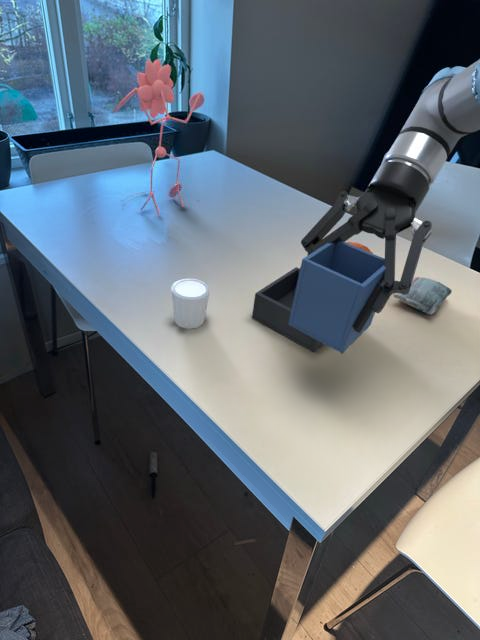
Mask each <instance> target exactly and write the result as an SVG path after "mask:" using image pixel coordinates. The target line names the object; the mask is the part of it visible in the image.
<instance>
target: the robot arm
mask: <svg viewBox="0 0 480 640" xmlns="http://www.w3.org/2000/svg"><path fill="white" fill-rule="evenodd" d="M478 131H480V58H479V59H478V60H477V61H475V62H473V63H472V64H470V65H469V66H467V67H464V66H460V65H459V66H458V65H456V66H454V67H445V68H442V69H441V70H439V71H438V72H437V73H435V74H434V76H433V77H432V79H431V80H430V82H429V83H428V85H427V86H425V87H424V89H423V90H422V91H421V94H420V95H419V99H418V101H417V103H416V104H415V106H414V107H413V110H412V111H411V113H410V114H409V116H408V118H407V120H406V121H405V123H404V125H403V126H402V128H401V130H400V132H399V134H398V135H397V137H396V139H395V140H394V142H393V144H392V145H391V147H390V149H389V150H388V151H387V154H386V155H385V157H384V159H383V162H382V164H381V165H379V167H378V169H377V171H376V172H375V174H374V176H373V178H372V179H371V180H370V183H368V186H367V188H366V190H365V191H364V192H363V193H362V194H361V195H359V196H354V195H350V194H348V192H347V191H346V190H341V191H340V192H339V193H338V195H337V198H336V199H335V202H334V203H333V205H332V206H331V207H330V208H329V209H328V210H327V211H326V213H325V214H324V215H323V216H322V217H321V218H320V219H319V220H318V221H317V222H316V223H315V224H314V226H313V227H311V229H310V230H309V231H308V232H307V234H305V236H303V238H302V239H301V241H300V244H301V246H302V247H303V249H304V251H305V252H306V253H307V255H306V257H307V256H308V255H310V254H311V253H313V252H314V251H316V250H317V249H319V248H321V247H322V246H324V245H325V244H327V243H329V244H330V243H335V245H336V244H337V243H338V242H339V241H343V242H347V241H348V240H350V239H351V238H352V237H353V236H357V235H359V234H360V233H362V232H364V233H367V234H371V235H372V234H373V235H374V236H376V237H377V238H379V239H382V240H384V259H385V264H384V267H386V270H385V271H384V285H383V287H382V285H379V284H377V285H376V286H375V288H374V290H373V291H372V293H371V295H370V297H369V298H368V300H367V302H366V303H365V305H364V307H363V309H362V310H361V312H360V314H359V315H358V317H357V319H356V321H355V322H354V324H353V328H354V330H355V331H357V332H359V333H360V332H361V330H362V329H363V327H364V325H365V324H366V322H367V320H368V318H369V317H370V315H371V313H372V311H374V312H375V314H380V313H381V312H382V311H383V309H384V308H385V306H386V304H387V303H388V301H389V299H390V297H391V296H392V295H394V294H398V293H401V294H403V295H407V294H408V293H409V291H410V288H411V284H412V281H413V277H415V274H416V270H417V267H418V264H419V260H420V257H421V253H422V250H423V246H424V244H425V243H426V242H427V240H428V239H429V237H430V236H431V235H432V228H433V227H432V226H433V223H432V222H431V220H424V221H423V220H421V219H419V218H417V217H416V214H417V212H418V210H419V208H420V206H421V205H422V203H423V202H424V200H425V198H426V196H427V194H428V193H429V191H430V187H431V186H433V183H434V182H435V180H436V179H437V178H438V175H439V174H440V172H441V171H442V168H443V167H444V165H445V164H446V161H448V158H449V156H450V154H451V153H452V151H453V150H454V148H455V147H456V145H457V143H458V142H459V141H460V139H461V138H463V137H465V136H468V135H471V134H473V133H475V132H478ZM354 207H356V211H357V212H356V213H354V214H353V215H352V216H350V217H349V218H348V219H347V221H346V222H345V223H343V224H342V225H340V226H338V227H337V228H336V229H334V227H335V226H337V224H338V222H340V221H341V219H342V218H343V217H344V216H345V214H346V212H350V211H351V210H352V208H354ZM409 228H412V230H411V235H412V239H411V243H410V246H409V249H408V252H407V256H406V258H405V259H406V260H405V264H404V267H403V269H402V274H401V277H400V280H396V250H397V249H396V248H397V234H399V233H402V232H404V231H405V230H407V229H409ZM332 229H334V230H333V231H332V232H331V230H332ZM330 232H331V233H330ZM300 268H301V266H300V267H299V272H298V273H300ZM296 286H297V285H296ZM295 291H296V287H295V289H294V290H293V292H292V294H291V296H292V297H293V298H294V296H295Z"/></svg>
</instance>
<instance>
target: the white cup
mask: <svg viewBox="0 0 480 640" xmlns="http://www.w3.org/2000/svg"><path fill="white" fill-rule="evenodd" d="M170 290H171V300H172V308H173V320H174V323H175V324H176V325H177V326H179V327H180V328H182V329H187V330H189V329H190V330H191V329H197V328H199V327H201V326H203V325H204V323H205V319H206V313H207V308H208V302H209V298H210V292H211V290H210V286H209V285H208V284H207V283H206V282H204V281H202V280H200V279H196V278H182V279H179V280H177V281H175V282H173V284H172V285H171V287H170Z"/></svg>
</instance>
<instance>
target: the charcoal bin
mask: <svg viewBox="0 0 480 640" xmlns="http://www.w3.org/2000/svg"><path fill="white" fill-rule="evenodd" d="M299 269H300V267H297V266H296V267H294V268H293V269H291V270H289V271H288V272H286V273H284V274H283V275H281V276H279V278H276V279H275V280H274V281H272V282H271V283H269V284H267V285H266V286H264V287H262V288H261V289H260V290H258V291H256V292H255V294H254V299H253V300H254V301H253V307H252V314H251V319H253V320H255V321H257V322H258V323H260V324H262V325H264V326H266V327H267V328H269V329H271V330H272V331H275V332H276V333H278V334H280V335H282V336H283V337H285V338H287V339H289V340H290V341H292V342H294V343H296V344H298V345H300V346H301V347H302V348H305V349H307V350H308V351H310V352H312V353H315V352H316V351H317V350H318V349H320V347H321V346H322V345H324V344H323V343H322V342H320V341H318V340H316V339H314V338H312V337H310V336H309V335H307V334H305V333H303V332H301V331H299V330H298V329H296V328H294V327H292V326H290V325H288V324H289V319H290V314H291V310H292V305H293V300H294V298H293V297H292V296H291V294H292V292H293V290H294V289H295V287H296V285H297V282H298V277H299V273H298V272H299Z"/></svg>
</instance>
